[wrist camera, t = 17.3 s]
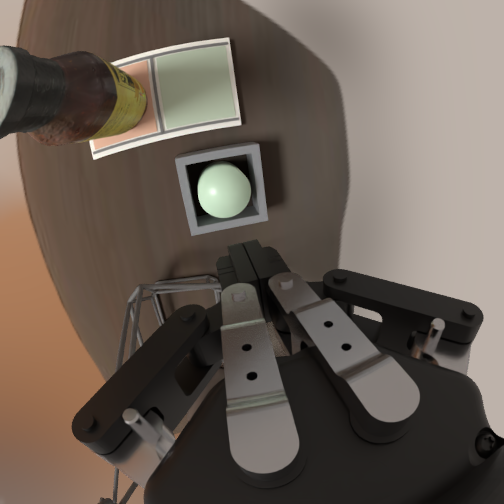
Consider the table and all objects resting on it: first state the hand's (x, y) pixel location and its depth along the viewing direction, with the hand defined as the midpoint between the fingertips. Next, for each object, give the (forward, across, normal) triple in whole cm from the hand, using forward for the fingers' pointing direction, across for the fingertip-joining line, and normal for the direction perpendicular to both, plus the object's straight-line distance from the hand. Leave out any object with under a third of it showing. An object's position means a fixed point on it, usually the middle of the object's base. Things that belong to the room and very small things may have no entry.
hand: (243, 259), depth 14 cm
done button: (+17, -1, 0) cm, 17 cm away
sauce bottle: (+16, +8, -11) cm, 21 cm away
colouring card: (+17, +4, -11) cm, 21 cm away
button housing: (+17, -1, 0) cm, 17 cm away
